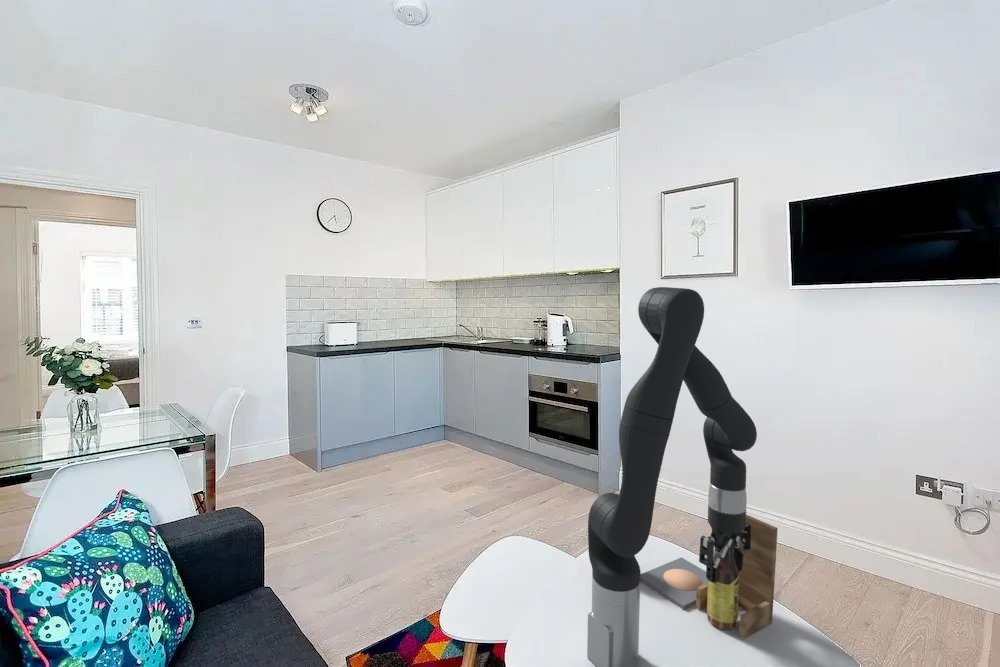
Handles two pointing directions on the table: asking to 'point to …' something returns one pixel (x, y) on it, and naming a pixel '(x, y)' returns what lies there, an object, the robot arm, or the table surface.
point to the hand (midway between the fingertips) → (724, 575)
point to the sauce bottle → (724, 593)
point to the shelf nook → (753, 579)
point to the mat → (676, 581)
